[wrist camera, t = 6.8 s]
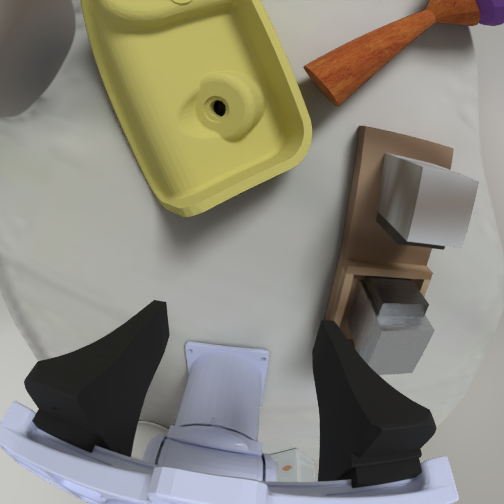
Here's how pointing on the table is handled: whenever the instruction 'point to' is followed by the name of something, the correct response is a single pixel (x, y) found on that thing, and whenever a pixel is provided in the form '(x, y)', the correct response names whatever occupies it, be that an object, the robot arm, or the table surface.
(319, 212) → the table surface
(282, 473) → the small box
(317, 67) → the kendama
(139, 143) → the plastic component
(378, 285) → the grey metal block
